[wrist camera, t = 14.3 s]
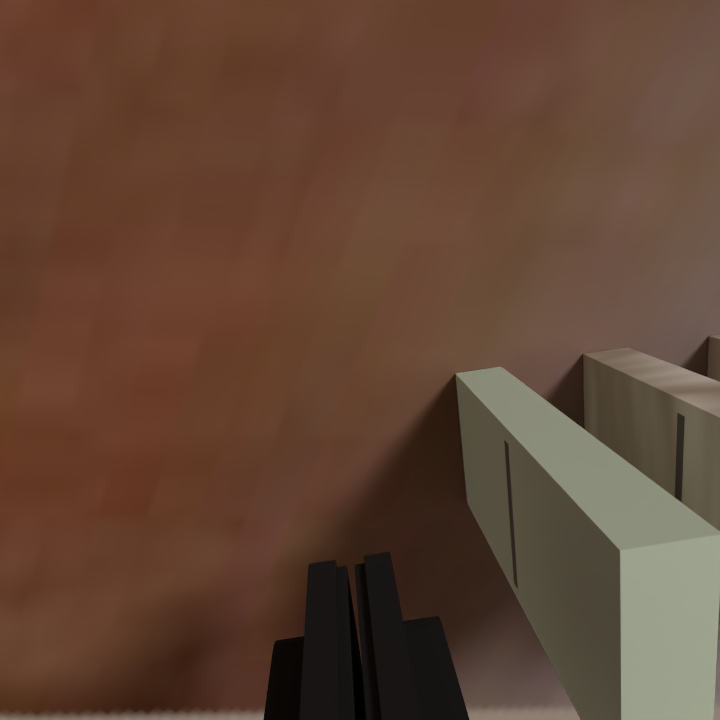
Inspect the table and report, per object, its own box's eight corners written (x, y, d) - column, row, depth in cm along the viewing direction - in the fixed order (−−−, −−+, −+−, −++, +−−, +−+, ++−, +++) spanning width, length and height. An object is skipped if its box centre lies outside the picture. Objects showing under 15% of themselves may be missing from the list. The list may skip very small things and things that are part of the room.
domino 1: (466, 503, 18) (620, 797, 9) (454, 373, 17) (618, 550, 8) (510, 496, 19) (710, 782, 9) (501, 366, 17) (724, 533, 8)
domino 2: (584, 484, 19) (864, 754, 9) (582, 354, 17) (903, 504, 8) (627, 477, 19) (951, 739, 9) (628, 347, 17) (1005, 488, 8)
